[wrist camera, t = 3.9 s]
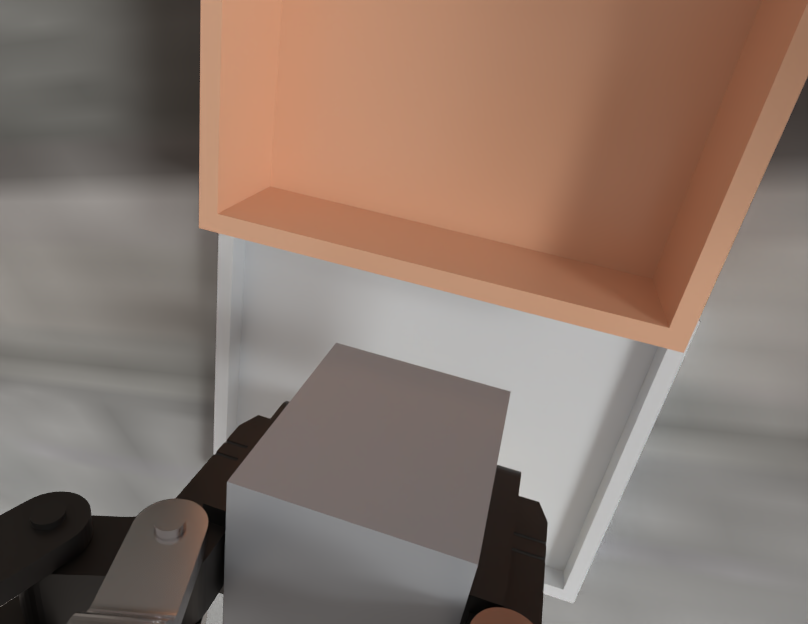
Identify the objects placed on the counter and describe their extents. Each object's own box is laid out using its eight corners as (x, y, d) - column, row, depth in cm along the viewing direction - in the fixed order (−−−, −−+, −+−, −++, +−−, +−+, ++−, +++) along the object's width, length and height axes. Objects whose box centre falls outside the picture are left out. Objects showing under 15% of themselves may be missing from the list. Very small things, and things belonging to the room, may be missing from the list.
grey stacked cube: (510, 391, 13) (478, 564, 9) (471, 524, 15) (429, 721, 11) (335, 342, 14) (227, 481, 10) (319, 475, 16) (222, 642, 12)
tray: (692, 303, 17) (700, 321, 16) (572, 576, 22) (573, 603, 21) (238, 191, 19) (219, 200, 18) (228, 466, 24) (212, 486, 23)
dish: (857, -207, 12) (979, -308, 8) (659, 286, 17) (684, 352, 13) (297, -275, 14) (203, -382, 10) (268, 191, 19) (199, 228, 15)
